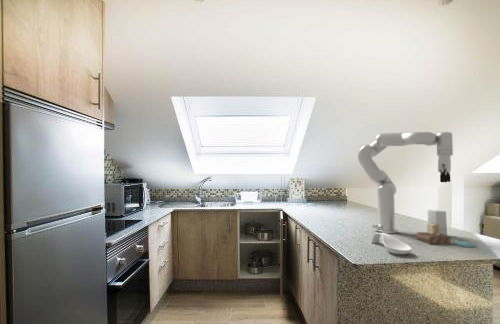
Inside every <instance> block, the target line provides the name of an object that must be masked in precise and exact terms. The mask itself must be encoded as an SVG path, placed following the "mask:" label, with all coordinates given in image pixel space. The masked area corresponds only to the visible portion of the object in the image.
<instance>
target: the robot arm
mask: <svg viewBox="0 0 500 324" xmlns="http://www.w3.org/2000/svg"><path fill="white" fill-rule="evenodd" d="M409 145H425V146H429V147H430V146H436V156H437V158H438V159H437V171H438V173H440V174H439V181H440V183H450V182H451V173H450V172H451V171H452V165H451V163H452V159H451V156H453V155H454V153H453V152H454V151H453V148H454V147H453V133H452V132H450V131H443V132H442V131H441V132H438V133H433V132H430V131H415V132H413V131H411V132H384V133H378V134H377V135H376V137H375V141H373V142H372V143H371V144H363V146H361V147H360V149H359V150H358V153H357V159H358V162H359V164H360V166H361V167H362V169H363V170H364V172H365V174H366V175H367V177H368V178H369V180H370V182H372V183H374V184H375V185H376V186H377V187H378V188H377V193H376V194H377V203H378V204H377V205H378V206H377V207H378V208H377V209H378V210H377V211H378V212H377V213H378V214H377V215H378V221H377V223H376V224H371V225H370V226H371V229H374V228H375V230H376V231H377V232H378V233H386V234H397V233H398V229H396V227H395V226H396V225H395V223H396V222H395V221H396V220H395V216H396V215H395V195H396V193H397V188H396V185H395V184H394V182H393V181H392V180H391V178H390V177H389V175H388V174H387V172H385V171H384V170H383V169H380V168H379V166H378V164H376V162H375V160H373V158H374V157H376V156H377V155H379V154H380V153H382V152H383V151H384V150H385V149H387V148H388V147H405V146H409Z"/></svg>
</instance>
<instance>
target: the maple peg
mask: <svg viewBox="0 0 500 324" xmlns="http://www.w3.org/2000/svg"><path fill="white" fill-rule="evenodd" d="M426 226H427V228H426V230H427V231H426V232H427V234H429V235H432V236H439V225H438V224H435V223H428V222H427V224H426Z"/></svg>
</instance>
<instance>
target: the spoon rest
mask: <svg viewBox="0 0 500 324" xmlns="http://www.w3.org/2000/svg"><path fill="white" fill-rule="evenodd" d="M380 237H381V238H382V243H383V246H384V247H385V249H386V250H387V251H388V252H389V253H391V254H394V255H397V256H398V255H399V256H402V255H407V254H409V253H410V252H411V251H412V247H411V246H410V245H408V244H406V243H404V242H403V241H401V240H399V239H397V238H395V237H394V236H392V235H390V234H389V233H384V232H375V234H373V235H372V238H371V243H372V244H379V243H380V239H381V238H380Z"/></svg>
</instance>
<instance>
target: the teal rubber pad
mask: <svg viewBox="0 0 500 324" xmlns="http://www.w3.org/2000/svg"><path fill="white" fill-rule="evenodd" d="M453 245H455V246H457V245H458V247H461V246H462V247H461V248H468V247H469V249H471V248H472V249H473V247H474V248H476V244H475V243H472V242H469V241H461V240H455V241H453Z"/></svg>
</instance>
